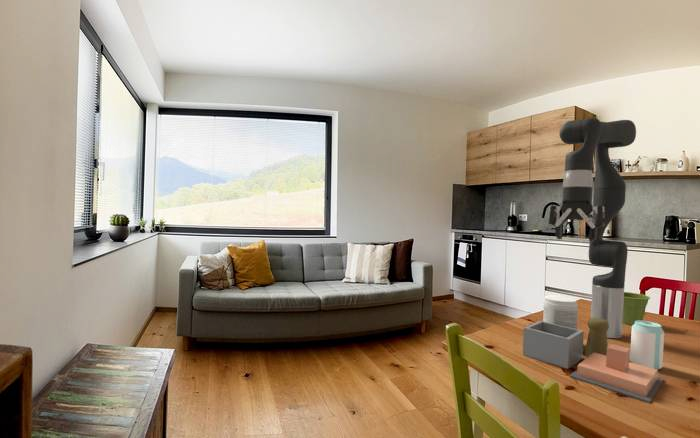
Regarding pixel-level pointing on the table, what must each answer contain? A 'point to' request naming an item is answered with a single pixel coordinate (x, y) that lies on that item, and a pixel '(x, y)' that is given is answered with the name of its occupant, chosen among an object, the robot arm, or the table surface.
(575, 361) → the storage box
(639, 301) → the plant pot
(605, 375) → the lid
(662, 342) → the can
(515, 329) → the table surface
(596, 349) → the pepper mill
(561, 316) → the supplement tub
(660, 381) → the mat
